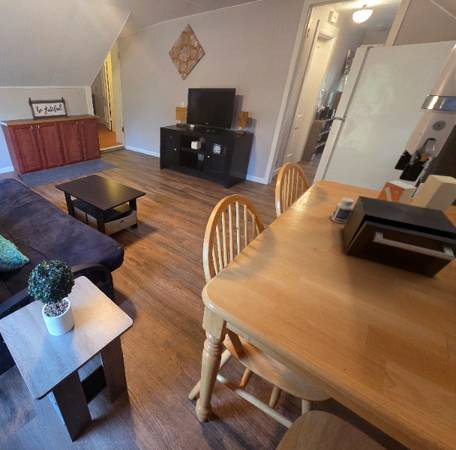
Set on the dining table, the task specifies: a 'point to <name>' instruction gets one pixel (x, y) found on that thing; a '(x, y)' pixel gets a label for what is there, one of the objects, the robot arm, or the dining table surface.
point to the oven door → (402, 248)
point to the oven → (397, 218)
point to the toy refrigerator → (436, 193)
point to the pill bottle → (343, 210)
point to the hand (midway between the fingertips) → (403, 174)
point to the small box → (397, 192)
